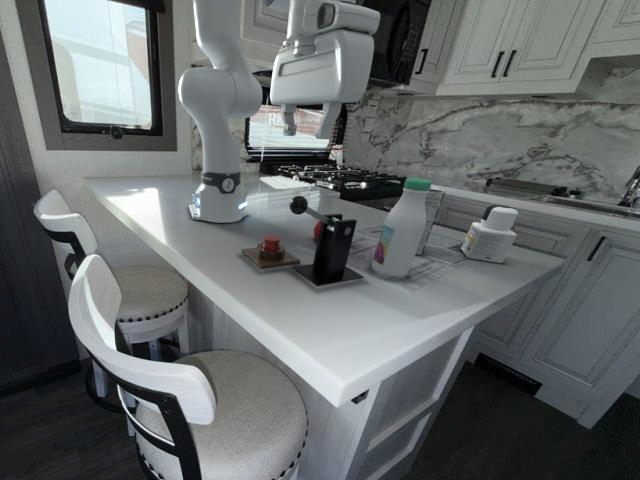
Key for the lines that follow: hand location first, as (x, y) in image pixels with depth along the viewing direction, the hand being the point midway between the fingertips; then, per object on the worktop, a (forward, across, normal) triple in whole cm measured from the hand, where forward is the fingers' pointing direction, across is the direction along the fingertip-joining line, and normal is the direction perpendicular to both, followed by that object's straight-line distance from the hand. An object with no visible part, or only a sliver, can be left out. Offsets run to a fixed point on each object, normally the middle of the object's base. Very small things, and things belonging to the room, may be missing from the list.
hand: (304, 137), depth 50 cm
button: (+23, -10, +2) cm, 25 cm away
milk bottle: (+27, +4, +25) cm, 36 cm away
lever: (+14, +1, +4) cm, 15 cm away
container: (+27, +4, +59) cm, 65 cm away
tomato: (+26, -15, +22) cm, 38 cm away
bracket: (+26, +1, +10) cm, 28 cm away
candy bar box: (+26, -7, +44) cm, 51 cm away
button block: (+26, -10, +2) cm, 28 cm away
